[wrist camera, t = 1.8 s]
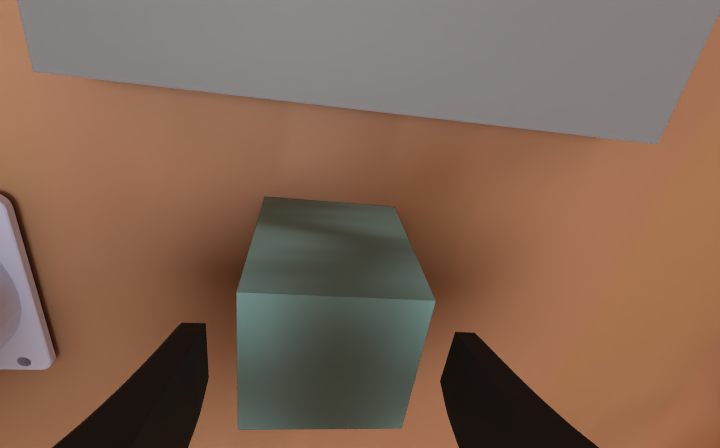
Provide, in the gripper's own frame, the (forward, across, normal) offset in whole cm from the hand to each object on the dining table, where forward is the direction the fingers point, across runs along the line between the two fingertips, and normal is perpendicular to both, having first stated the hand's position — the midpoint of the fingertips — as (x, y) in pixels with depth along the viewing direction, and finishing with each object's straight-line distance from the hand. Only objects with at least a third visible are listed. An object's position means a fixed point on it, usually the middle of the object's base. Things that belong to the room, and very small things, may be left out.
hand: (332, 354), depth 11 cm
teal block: (+5, 0, 0) cm, 5 cm away
